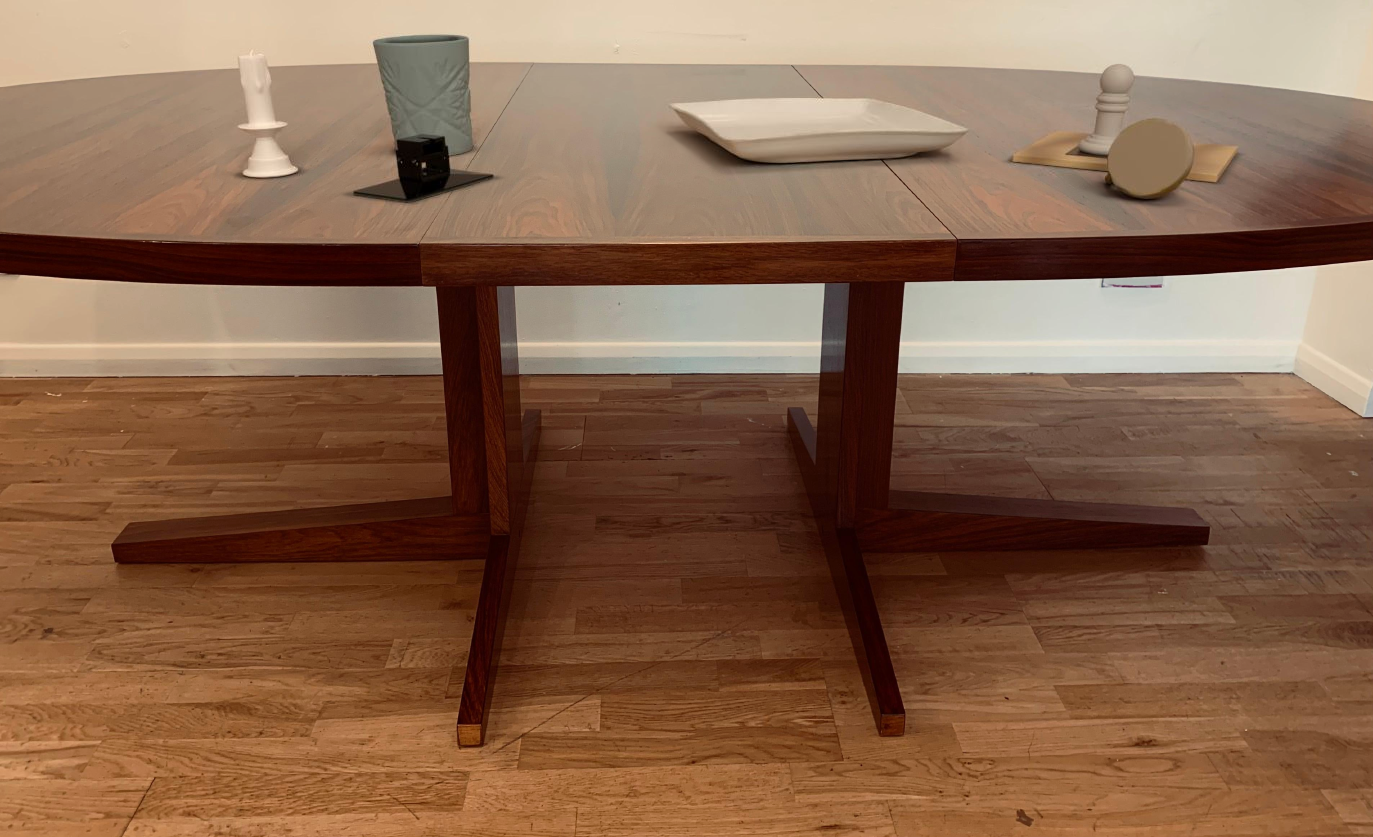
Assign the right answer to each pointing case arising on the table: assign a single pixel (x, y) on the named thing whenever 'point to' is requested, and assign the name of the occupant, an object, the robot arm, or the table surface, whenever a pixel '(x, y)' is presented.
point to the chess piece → (1109, 109)
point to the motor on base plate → (422, 171)
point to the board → (1066, 153)
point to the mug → (1150, 158)
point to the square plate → (817, 128)
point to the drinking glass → (427, 87)
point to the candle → (262, 120)
